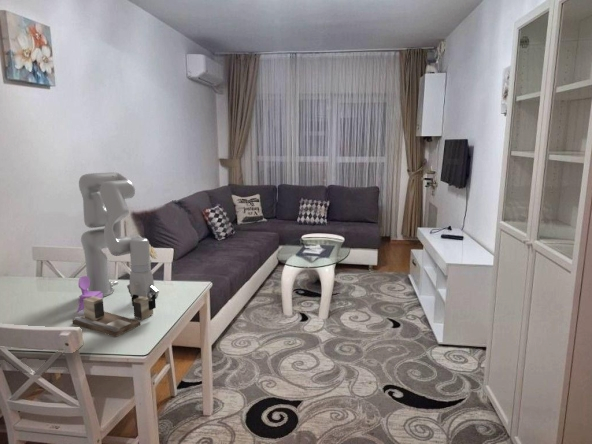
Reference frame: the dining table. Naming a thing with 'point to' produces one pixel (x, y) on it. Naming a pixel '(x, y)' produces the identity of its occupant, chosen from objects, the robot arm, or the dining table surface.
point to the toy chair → (86, 291)
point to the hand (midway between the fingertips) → (143, 306)
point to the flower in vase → (152, 254)
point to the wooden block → (142, 307)
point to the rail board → (103, 319)
